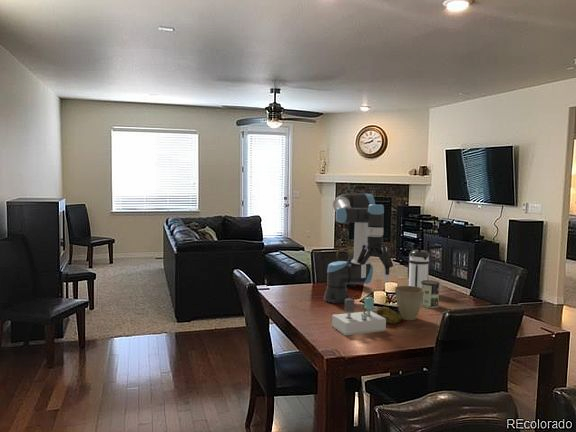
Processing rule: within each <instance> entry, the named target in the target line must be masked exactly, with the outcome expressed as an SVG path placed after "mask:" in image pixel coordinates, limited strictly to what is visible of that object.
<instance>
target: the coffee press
mask: <svg viewBox="0 0 576 432" xmlns="http://www.w3.org/2000/svg"><path fill="white" fill-rule="evenodd" d="M408 256H409V258H408V261H407V262H408V263H407V278H408V282H407V283H408V284H407V286H415V287H420V288H421V281H424V280H429V270H430V256H431V255H430V254H429V251H426V250H422V247H421V246H417V249H413V250H411V251H410V252H409V253H408Z"/></svg>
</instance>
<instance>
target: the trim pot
mask: <svg viewBox="0 0 576 432" xmlns="http://www.w3.org/2000/svg"><path fill="white" fill-rule="evenodd" d="M362 312H363V313H361V320H364V321H365V320H367V313H365V312H366V311H362Z"/></svg>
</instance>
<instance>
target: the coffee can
mask: <svg viewBox="0 0 576 432" xmlns="http://www.w3.org/2000/svg"><path fill="white" fill-rule="evenodd" d="M421 288H422V289H424V295H423V300H422V303H421V307H423V308H428V309H436V308H439V301H440V299H439V298H440V282H439V281H436V280H430V279H428V280H424V281H421Z"/></svg>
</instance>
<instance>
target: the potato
mask: <svg viewBox="0 0 576 432" xmlns="http://www.w3.org/2000/svg"><path fill="white" fill-rule="evenodd" d="M376 314H378V315H380V316H382V317H383V318H385V319H386V324H392V325H394V324H398V323H400V322H401V321H402V320H403V319H402V316H401V314H400V312H396V311H394V310H392V309H390V308H389V307H387V306H380V307H378V308H377V310H376Z"/></svg>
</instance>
